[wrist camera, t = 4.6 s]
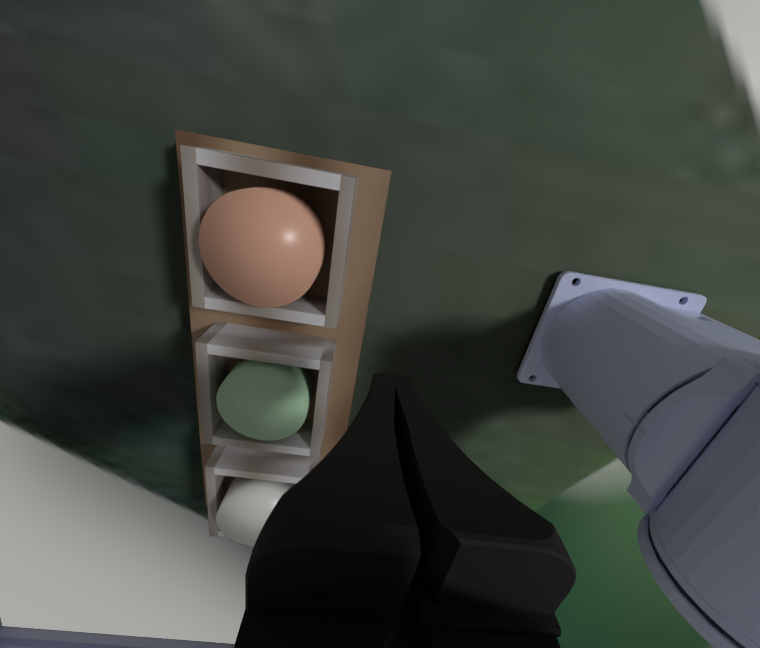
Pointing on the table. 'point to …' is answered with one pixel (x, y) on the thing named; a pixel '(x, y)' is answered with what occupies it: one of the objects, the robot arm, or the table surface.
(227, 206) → the terracotta button
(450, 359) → the table surface
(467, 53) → the table surface
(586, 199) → the table surface
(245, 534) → the grey button
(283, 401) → the sage button
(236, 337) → the button board
